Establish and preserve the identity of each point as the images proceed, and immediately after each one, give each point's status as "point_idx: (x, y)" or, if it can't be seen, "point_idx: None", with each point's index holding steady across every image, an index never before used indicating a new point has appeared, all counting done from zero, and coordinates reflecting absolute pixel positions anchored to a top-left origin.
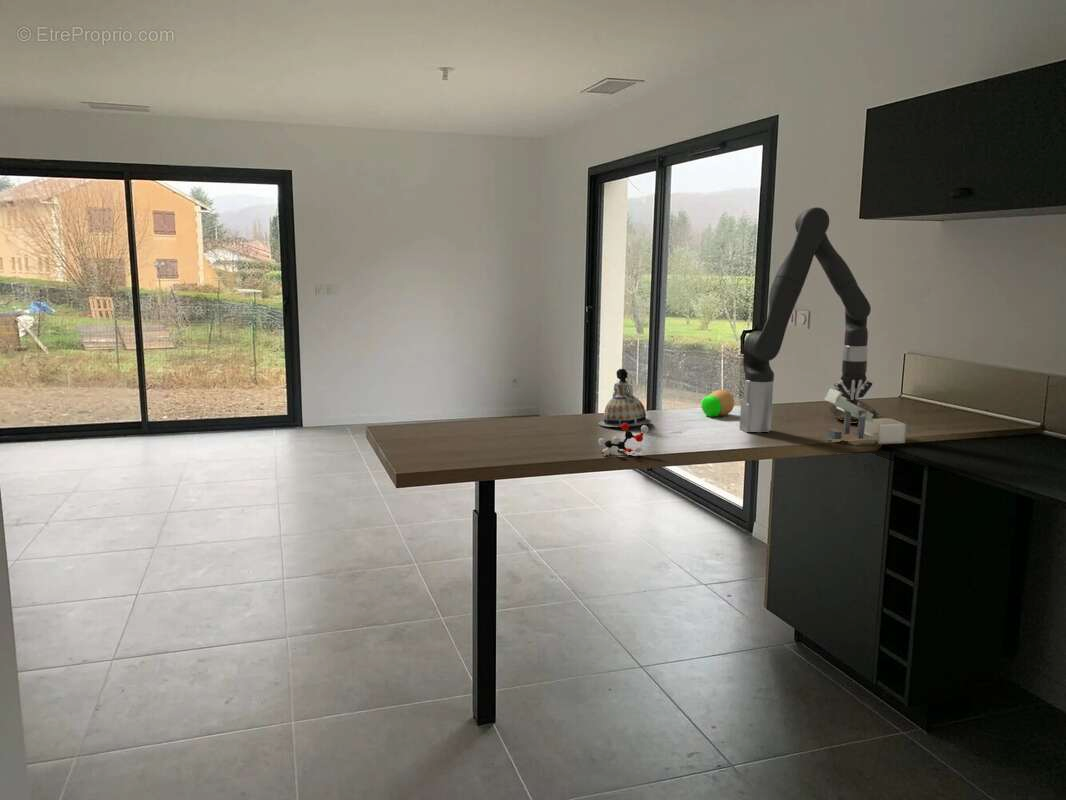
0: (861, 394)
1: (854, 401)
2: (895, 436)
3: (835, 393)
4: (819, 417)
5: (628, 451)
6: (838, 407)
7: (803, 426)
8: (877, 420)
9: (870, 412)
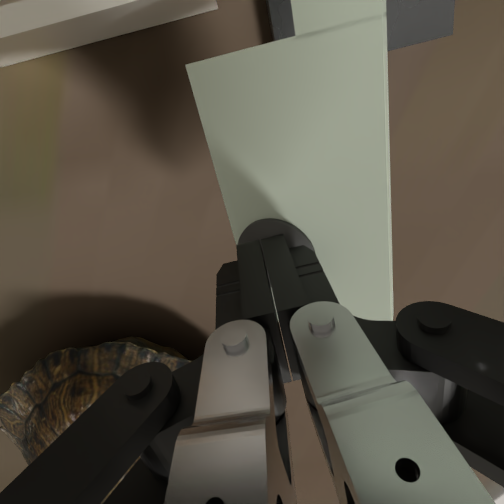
0: (145, 407)
1: (266, 298)
2: None
3: None
4: (294, 443)
5: None
6: (392, 298)
7: (468, 289)
8: (28, 5)
9: (65, 407)
